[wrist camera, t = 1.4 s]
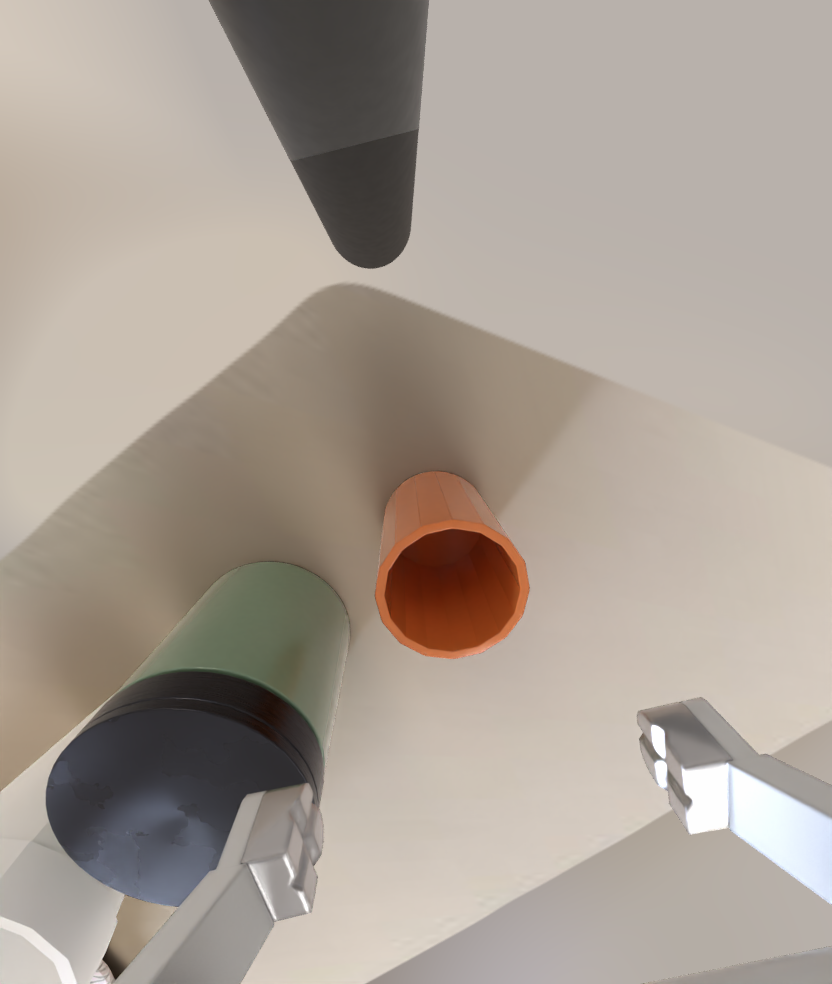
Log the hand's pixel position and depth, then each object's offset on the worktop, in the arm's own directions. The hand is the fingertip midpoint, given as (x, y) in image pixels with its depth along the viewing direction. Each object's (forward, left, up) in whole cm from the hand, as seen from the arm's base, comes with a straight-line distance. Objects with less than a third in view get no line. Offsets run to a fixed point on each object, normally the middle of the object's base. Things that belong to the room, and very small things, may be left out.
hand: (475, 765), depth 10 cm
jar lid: (+5, -11, -5) cm, 13 cm away
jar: (+5, -11, -17) cm, 21 cm away
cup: (0, +1, -17) cm, 17 cm away
